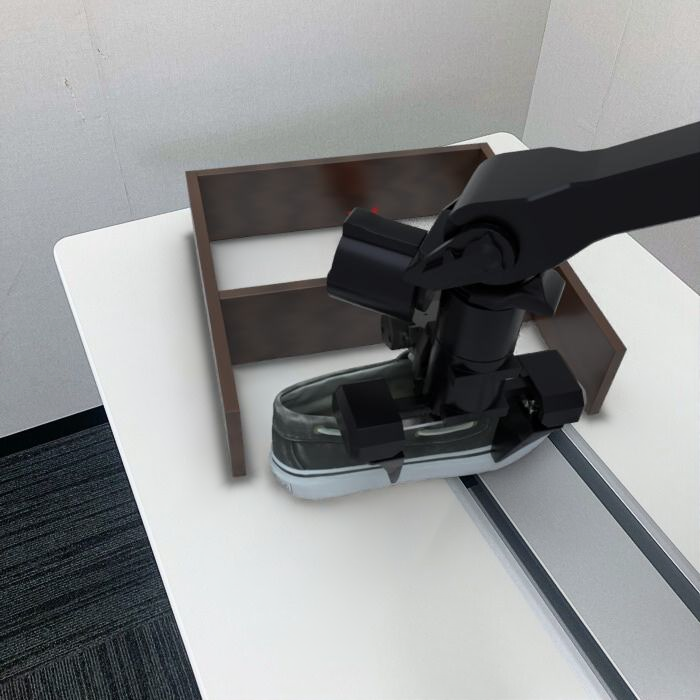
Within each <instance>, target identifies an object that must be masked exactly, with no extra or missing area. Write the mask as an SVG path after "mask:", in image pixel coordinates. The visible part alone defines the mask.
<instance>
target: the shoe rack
mask: <svg viewBox="0 0 700 700" xmlns="http://www.w3.org/2000/svg"><path fill="white" fill-rule="evenodd" d="M495 155H496V153H495V151H494V150H493V149H492V147H491V146H490V144H489V143H488V142H487V141H485V142H484V141H483V142H473V143H465V144H456V145H455V144H454V145H453V144H452V145H443V146H433V147H423V148H412V149H403V150H392V151H391V150H390V151H381V152H372V153H371V152H370V153H360V154H350V155H341V156H340V155H339V156H331V157H319V158H318V157H317V158H309V159H299V160H288V161H287V160H286V161H281V162H280V161H278V162H268V163H257V164H247V165H246V164H245V165H235V166H227V167H225V166H224V167H216V168H204V169H193V170H192V169H191V170H185V171H184V173H185V174H184V175H185V180H186V188H187V196H188V202H189V203H188V204H189V210H190V217H191V218H190V219H191V225H192V233H193V238H194V246H195V251H196V258H197V263H198V270H199V277H200V283H201V289H202V295H203V302H204V307H205V314H206V320H207V325H208V332H209V337H210V344H211V345H210V346H211V351H212V356H213V357H212V358H213V363H214V370H215V375H216V376H215V377H216V381H217V388H218V392H219V393H218V394H219V399H220V405H221V406H220V407H221V413H222V418H223V419H222V420H223V424H224V431H225V437H226V444H227V450H228V456H229V463H230V467H231V474H232V478H237V477H242V476H243V477H244V476H247V465H246V457H245V447H244V436H243V425H242V418H241V417H242V416H241V409H240V404H239V397H238V392H237V386H236V381H235V376H234V370H233V365H240V364H241V365H242V364H247V363H254V362H259V361H268V360H274V359H281V358H287V357H288V358H289V357H295V356H303V355H308V354H309V355H310V354H316V353H322V352H328V351H329V352H330V351H337V350H341V349H342V350H343V349H350V348H356V347H363V346H370V345H377V344H383V343H384V344H385V342H384V341H383V339H382V336H381V316H382V314H380V313H377V312H374V311H371V310H368V309H365V308H362V307H359V306H356V305H353V304H350V303H347V302H344V301H341V300H338V299H335V298H331V297H330V296H329V295H328V292H327V285H326V282H327V276H325V277H318V278H316V277H315V278H310V279H301V280H294V281H293V280H292V281H286V282H277V283H270V284H262V285H255V286H247V287H246V286H245V287H238V288H233V289H232V288H231V289H223V290H219V288H218V281H217V277H216V272H215V267H214V260H213V255H212V254H213V253H212V250H211V243H210V242H211V241H218V240H219V241H220V240H229V239H237V238H238V239H239V238H243V237H244V238H246V237H253V236H255V237H256V236H261V235H262V236H265V235H271V234H281V233H290V232H298V231H307V230H315V229H316V230H317V229H324V228H332V227H340V226H341V227H343V223H344V221H345V220H346V219H347V217H348V216H349V214H348V212H352V211H353V209H354V208H356V207H358V208H361V209H365V210H368V211H372V210H373V209H374V208H375V207H376V206H378V210H377V213H378V215H379V216H381V217H384V218H387V219H390V220H394V221H396V220H402V219H403V220H404V219H412V218H420V217H429V216H430V217H431V216H437V215H438V216H439V214H440V212H441V211H442V209H443V208H445V207H446V206H447V205H449V204H450V203H451V202H453V201H454V200H455V199H457V198H458V197H459V196H461V194H462V192H463V191H464V189H465V187H466V186H467V184H468V182H469V180H470V179H471V177H472V175H473V174H474V172H475V171H476V169H477V168H478V166H479V165H480V164H481V163H482V162H484V161H485V160H487V159H489V158H491V157H493V156H495ZM553 270H555V271H556V272H557V273H558V274H559V275H560V276H561V277H562V278H563V279H564V281H565V286H564V289H563V292H562V295H561V297H560V300H559V303H558V306H557V308H556V311H555V314H554V315H553V316H552V317H545V316H541V315H538V314H535V313H532V312H528V311H526V312H525V315H524V319H523V322H522V323H527V322H533V323H534V325H535V327H536V329H537V330H538V332H539V333H540V335H541V337H542V338H543V340H544V342H545V343H546V345H547V347H548V350H557V351H558V352H559V353H560V354H561V355H562V356H563V358H564V359H565V361H566V362H567V364H568V365H569V367H570V368H571V370H572V371H573V373H574V374H575V376H576V377H577V379H578V381H579V382H580V384H581V385H582V387H583V388H584V390H585V392H586V399H587V403H586V405H585V408H584V411H585V412H586V414H587V416H589V415H595V414H600V412H601V409H602V407H603V405H604V402H605V400H606V398H607V396H608V394H609V392H610V389H611V388H612V384H613V382H614V380H615V377H616V375H617V374H618V371H619V370H620V369H619V368H620V366H621V365H622V362H623V360H624V358H625V356H626V353H627V350H628V348H627V346H626V345H625V343H623V341H622V339H621V338H620V336H619V335H618V333H617V332H616V330H615V329H614V327H613V326H612V325H611V323H610V322H609V320H608V318H607V317H606V316H605V314H604V313H603V311H602V310H601V308H600V307H599V305H598V304H597V302H596V300H595V299H594V298H593V297H592V295H591V293H590V291H588V289H587V288H586V286H585V285H584V283H583V282H582V280H581V279H580V277H579V276H578V274H577V273H576V271H575V269H574V268H573V267H572V266H571V264H570V262H569V261H568V260H567V261H565V262H564V263H562V264H561V265H559V266H557V267H555V268H553ZM440 295H441V290H438V291H436V292H435V295H434V297H433V300H432V301H439V300H440Z"/></svg>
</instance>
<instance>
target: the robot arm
mask: <svg viewBox="0 0 700 700" xmlns="http://www.w3.org/2000/svg"><path fill="white" fill-rule="evenodd" d="M699 217H700V120H698V121H695V122H692V123H688V124H685V125H681V126H677V127H674V128H671V129H667V130H664V131H661V132H657V133H653V134H649V135H647V136H643V137H640V138H636V139H633V140H630V141H625V142H622V143H619V144H615V145H612V146H609V147H604V148H598V149H591V150H590V149H589V150H584V151H583V150H575V149H570V148H568V149H567V148H561V147H556V146H545V147H537V148H530V149H523V150H522V149H521V150H516V151H515V150H514V151H507V152H501V153H497V154H495V156H493V157H491V158H489V159H487V160H485V161H484V162H482V163H481V164H480V165H479V166H478V168H477V169H476V171H475V172H474V174H473V175H472V177H471V179H470V180H469V182H468V184H467V186H466V187H465V189H464V191H463V192H462V194H461V196H459V197H458V198H457V199H455V200H454V201H453V202H451V203H450V204H449V205H447V206H446V207H445V208H443V209H442V211H441V212H440V214H439V215H438V216H436V219H435V221H434V222H433V224H432V225H431V226H430V227H431V228H430V229H425V228H421V227H418V226H415V225H414V226H413V225H411V224H407V223H405V222H400V221H397V220H390V219H387V218H384V217H381V216H379V215H377V214H375V213H374V212H371V211H368V210H365V209H361V208H358V207H356V208H354V209H353V211H352V212H351V213H350V215H349V216H348V217H347V219H346V220H345V221H344V223H343V226H342V231H341V237H340V239H339V241H338V244H337V247H336V249H335V252H334V256H333V259H332V262H331V266H330V269H329V270H328V272H327V273H326V277H327V282H326V285H327V292H328V295H329V296H330V297H331V298H335V299H338V300H341V301H344V302H347V303H350V304H353V305H356V306H359V307H362V308H365V309H368V310H371V311H374V312H377V313H380V314H382V316H381V336H382V339H383V341H384V344H385V345H386V347H387V348H388V349H389V350H390V351H392V352H393V351H399V350H404V349H405V350H407V349H408V350H409V351H410V352H411V353H412V355H413V356H414V358H413V365H412V370H413V372H414V374H415V377H416V379H417V380H418V379H423V380H424V382H425V383H424V389H423V394H419V395H414V396H408V397H402V398H396V399H393V397H392V395H391V393H390V390H389V388H388V385H387V383H386V380H385V378H374V379H368V380H362V381H356V382H350V383H344V384H338V385H337V387H336V388H335V390H334V391H333V393H332V409H333V412H334V415H335V418H336V421H337V424H338V427H339V430H340V433H341V436H342V439H343V442H344V445H345V448H346V451H347V454H348V457H349V459H350V460H352V461H354V462H356V463H358V464H360V463H365V462H366V463H367V464H368V465H371V466H374V465H380V466H381V467H382V468H383V469H384V470H386V472H387V474H388V477H389V480H390V482H391V484H393V483H396V482H397V480H398V479H399V476H400V473H401V470H402V466H403V463H404V460H405V455H404V453H403V449H404V444H405V435H404V430H408V429H414V428H419V427H425V426H430V425H436V424H441V423H443V424H444V426H445V427H447V426H452V425H457V424H463V423H468V422H474V421H479V420H485V419H490V418H496V417H499V421H498V424H497V427H496V431H495V434H494V437H493V441H492V447H491V456H492V458H493V460H494V462H495V463H499V462H501V461H503V460H504V459H506V458H507V457H509V456H511V455H512V454H514V453H516V452H517V451H519V450H521V449H522V448H524V447H526V446H527V445H529V444H531V443H533V442H535V441H536V440H538V439H540V438H542V437H544V436H546V435H548V434H549V433H550V434H551V433H553V432H556V431H557V432H558V431H561V430H562V429H563V428H564V427H565V425H569V424H574V423H579V421H580V419H581V417H582V414H583V413H584V411H585V409H584V408H585V405H586V403H587V399H586V392H585V390H584V388H583V387H582V385H581V384H580V382H579V381H578V379H577V377H576V376H575V374H574V373H573V371H572V370H571V368H570V367H569V365H568V364H567V362H566V361H565V359H564V358H563V356H562V355H561V354H560V353H559V352H558V351H557V350H550V349H545V350H540V351H539V350H538V351H533V352H526V353H521V354H515V350H516V347H517V343H518V339H519V337H520V333H521V328H522V325H523V323H524V322H523V319H524V315H525V312H526V311H528V312H532V313H535V314H538V315H541V316H545V317H552V316H553V315H554V314H555V311H556V308H557V306H558V303H559V300H560V297H561V295H562V292H563V289H564V286H565V281H564V279H563V278H562V277H561V276H560V275H559V274H558V273H557V272H556V271H555V270H553V268H555V267H557V266H559V265H561V264H562V263H564V262H565V261H568V260H570V259H572V258H573V257H574V256H576V255H578V254H579V253H580V252H582V251H583V250H586V249H587V248H588V247H590V246H591V245H593V244H595V243H597V242H600V241H602V240H605V239H609V238H610V237H613V236H617V235H621V234H626V233H630V232H635V231H640V230H644V229H645V230H646V229H649V228H653V227H658V226H663V225H669V224H673V223H676V222H682V221H686V220H691V219H695V218H699ZM428 230H429V232H428ZM438 290H441V295H440V300H439V301H432V300H433V297H434V295H435V292H436V291H438ZM550 434H549V435H550ZM549 435H548V436H549Z"/></svg>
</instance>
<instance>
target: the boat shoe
mask: <svg viewBox="0 0 700 700" xmlns="http://www.w3.org/2000/svg"><path fill="white" fill-rule="evenodd" d="M413 358H414V356H413V355H412V353H411V352H410V351H409V350H408V349H407V348H406V349H405V350H403V351H402V352H401V353H400V354H399V355H398V356H397V357H394V358H392V359H389V360H384V361H380V362H376V363H371V364H365V365H361V366H355V367H350V368H345V369H341V370H340V369H339V370H337V371H333V372H328V373H324V374H322V375H318V376H315V377H312V378H309V379H305V380H302V381H299V382H296V383H294V384H292V385H290V386H288V387H285V388H284V389H282V390H281V391H279V392H278V393H277V395H276V396H275V398H274V399H273V403H272V416H271V417H272V418H271V423H272V424H271V444H270V451H269V455H268V461H269V467H270V469H271V472H272V474H273V476H274V477H275V479H276V480H277V481H278V483H279V484H280V485H281V486H282V487H283V489H284V490H285V491H286V492H287V493H289V495H292V496H293V497H296V498H299V499H306V500H325V499H330V498H337V497H344V496H348V495H352V494H356V493H363V492H369V491H372V490H378V489H381V488H385V487H391V486H396V485H401V484H405V483H406V484H407V483H411V482H412V483H413V482H418V481H425V480H426V481H427V480H433V479H434V480H435V479H445V478H454V477H463V476H471V475H477V474H482V473H485V472H493V471H494V472H495V471H497V470H499V469H502V468H504V467H506V466H509V465H510V464H512V463H515V462H516V461H518V460H519V459H521V458H523V457H525V456H526V455H528V454H529V453H530V452H531V451H533V450H535V449H536V447H537V446H539V445H540V444H542V442H543V441H544V440H545V439H547V437H548V436H549V435H551V433H549V434H548V435H546V436H544V437H542V438H540V439H538V440H536V441H535V442H533V443H531V444H529V445H527V446H526V447H524V448H522V449H521V450H519V451H517V452H516V453H514V454H512V455H511V456H509V457H507V458H506V459H504V460H503V461H501V462H499V463H495V462H494V460H493V458H492V456H491V447H492V441H493V437H494V434H495V431H496V427H497V424H498V421H499V417H496V418H490V419H485V420H479V421H474V422H468V423H463V424H457V425H452V426H447V427H445V426H444V424H443V423H441V424H436V425H430V426H425V427H419V428H414V429H408V430H404V435H405V444H404V449H403V453H404V455H405V460H404V463H403V466H402V470H401V473H400V476H399V479H398V480H397V482H396V483H393V484H391V482H390V480H389V477H388V474H387V472H386V470H384V469H383V468H382V467H381V466H380V465H374V466H371V465H368V464H367V463H366V462H365V463H360V464H358V463H356V462H354V461H352V460H350V459H349V457H348V454H347V451H346V448H345V445H344V442H343V439H342V436H341V433H340V430H339V427H338V424H337V421H336V418H335V415H334V412H333V409H332V393H333V391H334V390H335V388H336V387H337V385H338V384H344V383H350V382H356V381H362V380H368V379H374V378H385V380H386V383H387V385H388V388H389V390H390V393H391V395H392V397H393V399H396V398H402V397H408V396H414V395H419V394H423V389H424V383H425V382H424V380H423V379H418V380H417V379H416V377H415V374H414V372H413V370H412V365H413Z"/></svg>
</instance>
